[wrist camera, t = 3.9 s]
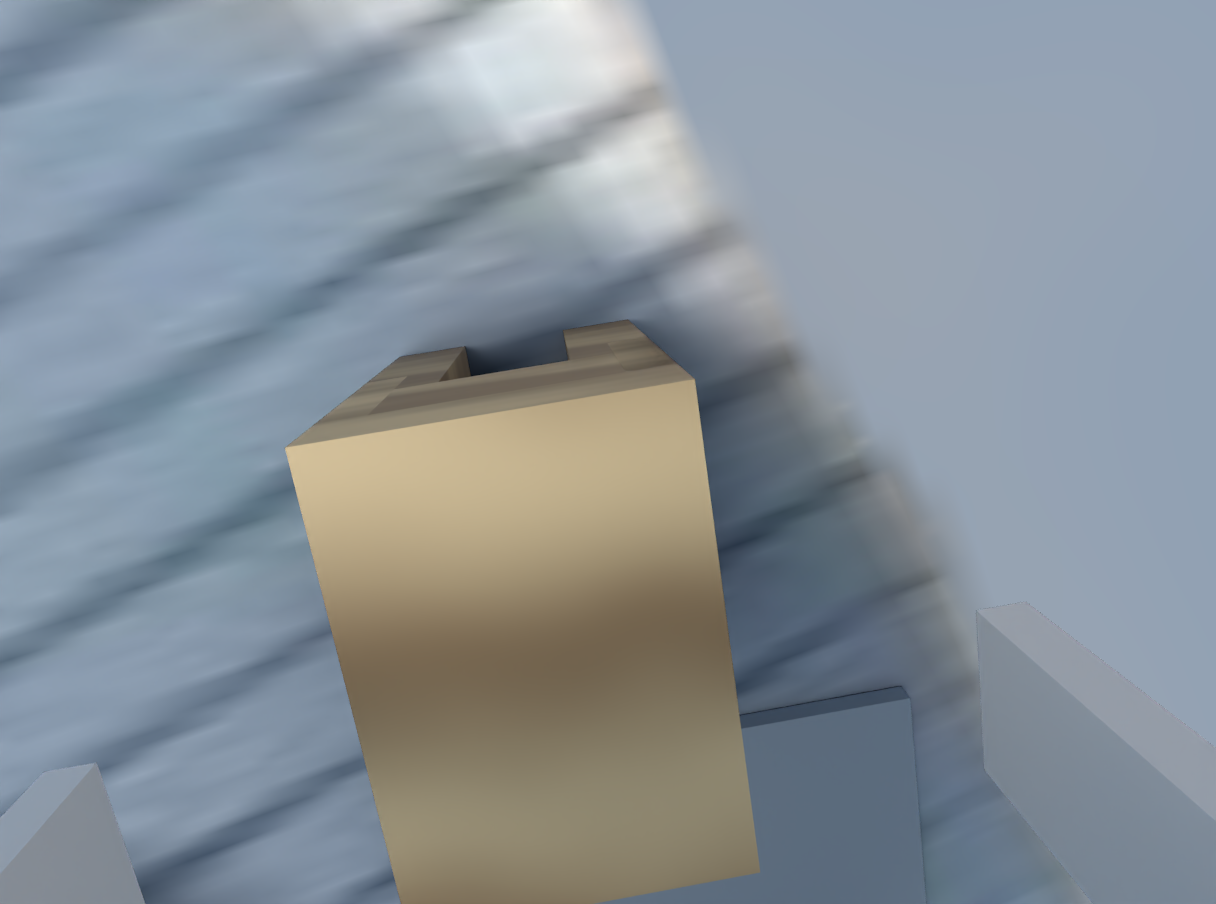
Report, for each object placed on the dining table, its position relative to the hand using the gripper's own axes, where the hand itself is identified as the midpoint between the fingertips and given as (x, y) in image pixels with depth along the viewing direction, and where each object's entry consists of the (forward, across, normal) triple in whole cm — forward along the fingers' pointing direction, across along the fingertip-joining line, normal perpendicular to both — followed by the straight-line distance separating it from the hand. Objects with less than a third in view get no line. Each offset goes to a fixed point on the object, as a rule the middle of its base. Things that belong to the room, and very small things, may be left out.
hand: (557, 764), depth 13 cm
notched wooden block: (+15, 0, 0) cm, 15 cm away
